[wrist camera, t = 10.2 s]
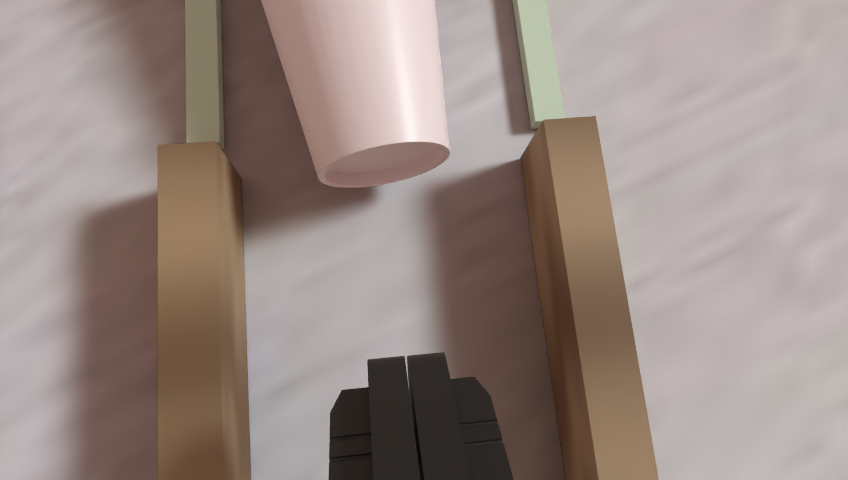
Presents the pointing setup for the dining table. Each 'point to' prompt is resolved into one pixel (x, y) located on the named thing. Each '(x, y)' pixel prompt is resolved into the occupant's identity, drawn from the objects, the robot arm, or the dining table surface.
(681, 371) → the dining table surface
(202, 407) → the walnut channel
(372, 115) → the smoothie
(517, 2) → the frame
